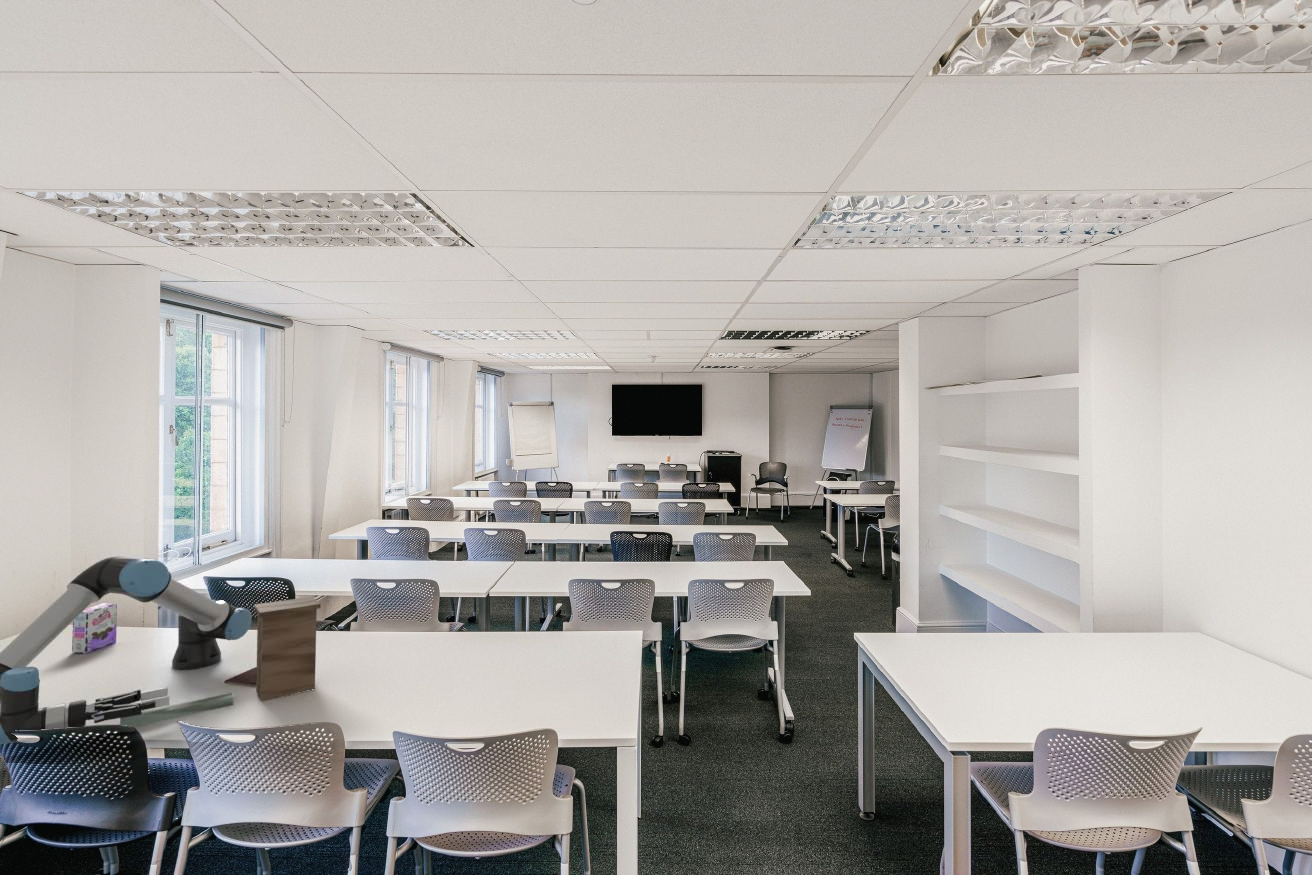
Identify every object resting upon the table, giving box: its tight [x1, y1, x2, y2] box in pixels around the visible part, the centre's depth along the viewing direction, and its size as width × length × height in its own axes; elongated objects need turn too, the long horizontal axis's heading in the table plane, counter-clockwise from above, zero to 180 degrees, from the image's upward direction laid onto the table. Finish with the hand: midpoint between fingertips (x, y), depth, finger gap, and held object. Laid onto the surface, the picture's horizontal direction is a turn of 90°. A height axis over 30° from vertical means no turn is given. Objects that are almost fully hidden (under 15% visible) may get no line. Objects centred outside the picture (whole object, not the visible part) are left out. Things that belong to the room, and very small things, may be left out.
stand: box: [253, 596, 322, 702], centre depth 214 cm, size 12×18×30 cm, turn 131°
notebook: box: [224, 666, 257, 688], centre depth 227 cm, size 15×20×2 cm
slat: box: [119, 692, 234, 728], centre depth 195 cm, size 4×28×3 cm, turn 130°
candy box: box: [71, 602, 118, 654], centre depth 250 cm, size 14×6×16 cm, turn 179°
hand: (168, 695), depth 193 cm, fingers open, 7 cm apart
